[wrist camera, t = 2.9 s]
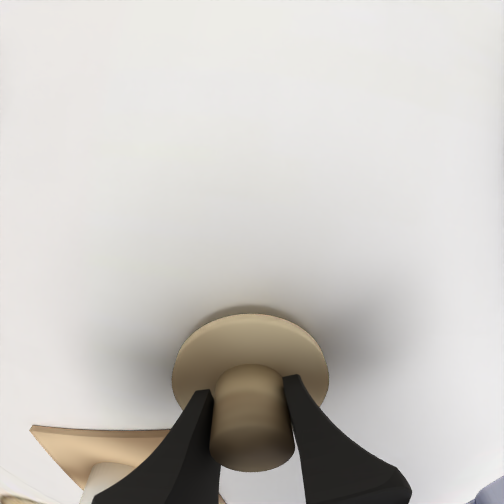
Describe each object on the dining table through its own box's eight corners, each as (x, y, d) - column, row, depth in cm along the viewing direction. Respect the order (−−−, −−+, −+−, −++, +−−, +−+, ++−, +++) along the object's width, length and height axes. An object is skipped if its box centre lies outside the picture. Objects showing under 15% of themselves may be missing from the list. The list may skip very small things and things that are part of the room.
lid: (330, 412, 15) (349, 476, 11) (201, 433, 15) (193, 497, 11) (315, 297, 13) (343, 360, 9) (153, 329, 13) (123, 395, 9)
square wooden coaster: (232, 512, 20) (232, 518, 19) (108, 507, 20) (106, 511, 20) (178, 429, 16) (177, 436, 16) (32, 425, 17) (29, 430, 16)
